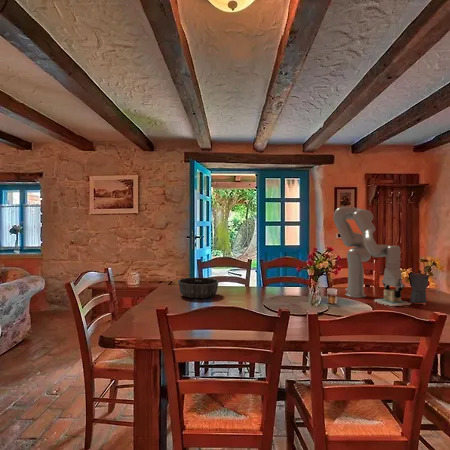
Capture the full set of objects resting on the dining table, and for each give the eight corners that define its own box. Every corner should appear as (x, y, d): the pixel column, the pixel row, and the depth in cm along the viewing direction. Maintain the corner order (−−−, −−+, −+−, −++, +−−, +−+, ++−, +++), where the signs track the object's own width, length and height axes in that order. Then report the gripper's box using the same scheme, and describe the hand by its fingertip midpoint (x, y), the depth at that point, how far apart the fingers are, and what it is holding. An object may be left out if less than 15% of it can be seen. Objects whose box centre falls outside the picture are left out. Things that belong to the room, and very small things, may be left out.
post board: (374, 301, 203) (374, 298, 203) (392, 300, 207) (392, 297, 207) (392, 307, 190) (392, 304, 190) (411, 305, 194) (411, 302, 194)
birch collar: (383, 299, 201) (383, 289, 201) (392, 299, 203) (392, 289, 203) (392, 301, 194) (392, 291, 195) (401, 301, 196) (401, 290, 197)
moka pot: (421, 306, 192) (422, 272, 192) (400, 300, 207) (401, 268, 206) (435, 305, 194) (435, 271, 194) (413, 299, 209) (413, 268, 209)
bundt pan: (225, 294, 222) (225, 279, 222) (206, 302, 198) (207, 285, 198) (191, 290, 233) (191, 276, 233) (169, 297, 209) (169, 282, 209)
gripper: (377, 264, 205) (376, 293, 206) (399, 268, 189) (399, 299, 189) (386, 264, 208) (386, 292, 208) (410, 268, 191) (409, 299, 191)
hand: (392, 295), depth 198 cm, fingers open, 7 cm apart
